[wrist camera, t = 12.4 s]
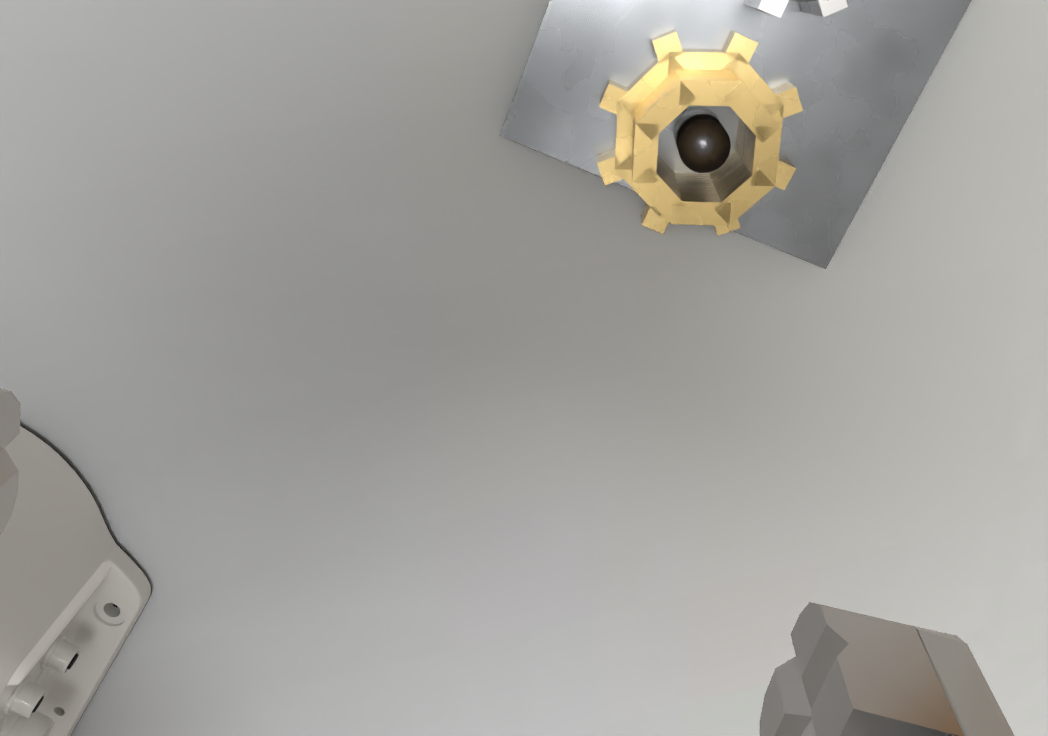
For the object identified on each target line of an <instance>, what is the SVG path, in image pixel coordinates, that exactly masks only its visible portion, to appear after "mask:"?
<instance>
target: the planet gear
mask: <svg viewBox="0 0 1048 736" xmlns="http://www.w3.org/2000/svg"><path fill="white" fill-rule="evenodd" d="M651 40H652V43H653V46H654V49H655V52H656V55H657V59H656V60H655V61H654V62H653V63H652V64H651V65H650V66H649V67H648V68H647V69H645V70H644V71H643V72H642V73H641V74H640V75H639V76H638V77H637V78H636V79H635V80H634V81H633V82H632V83H631V84H630V85H629V86H628V87H626V86H624V85H622V84H620V83H617V82H615V81H613V80H611V79H609V81H608V84H607V86H606V88H605V90H604V93H603V95H602V97H601V99H600V102H599V107H601V108H603V109H605V110H607V111H609V112H612V113H614V114H616V115H617V125H616V148H615V150H612V151H610V152H607V153H604V154H602V155H599V156H598V157H597V165H598V168H599V171H600V174H601V176H602V179H603V182H604V184H605V185H608V184H611V183H613V182H616V181H619V180H621V179H624V180H625V181H626V182H627V183H628V184H629V185H630V186H631V187H632V188H633V189H634V190H635V192H636V193H637V194H638V195H639V196H640V197H641V198H642V199H643V200H644V201H645V202H646V203H647V204H646V206H645V208H644V210H643V213H642V215H641V220H642V225H643V226H646V227H648V228H650V229H652V230H655V231H657V232H659V233H662V234H664V232H665V230H666V228H667V225H668V223H669V222H670V224H686V225H714V227H715V229H716V232H717V235H718V236H719V235H722V234H725V233H727V232H730V231H733V230H736V229H739V228H741V227H740V224H739V221H738V218H739V217H740V216H741V215H742V214H743V213H745V212H746V211H747V210H748V209H749V208H750V207H752V206H753V205H754V204H755V203H756V202H757V201H759V200H760V199H761V198H762V197H763V196H764V195H766V194H767V193H768V192H769V191H770V190H771V189H773V188H774V187H775V186H776V187H778V188H780V189H782V190H785V188H786V186H787V185H788V183H789V181H790V179H791V177H792V175H793V174H794V172H795V170H796V167H795V166H794V165H793V164H792V163H791V162H790V161H789V160H787V159H785V158H782V157H780V156H779V150H780V140H781V131H782V122H783V118H785V117H788V116H791V115H793V114H796V113H799V112H801V111H803V109H802V106H801V102H800V99H799V96H798V92H797V89H796V87H795V86H794V85H793V84H791V83H790V82H788V83H786V84H783V85H781V86H778V87H775V88H773V89H770V87H769V86H768V85H767V84H766V83H765V82H764V81H763V79H762V78H761V77H760V76H759V75H758V74H757V72H756V71H755V70H754V69H753V68H752V67H751V65H750V64H749V61H750V59H751V57H752V55H753V53H754V51H755V49H756V47H757V45H758V43H757V42H756V41H754V40H752V39H750V38H748V37H745V36H743V35H741V34H739V33H737V32H735V31H732V30H731V31H730V33H729V35H728V37H727V39H726V41H725V43H724V45H723V48H722V49H682V48H681V45H680V42H679V38H678V35H677V32H676V31H675V30H674V29H673V30H671V31H668V32H666V33H663V34H661V35H658V36H656V37H654V38H651ZM689 105H692V106H730V107H731V108H732V109H733V110H734V111H735V113H736V114H737V115H738V116H739V119H738V129H737V140H736V150H735V151H734V152H732V153H731V154H730V155H729V156H728V158H727V160H726V161H725V163H724V164H723V165H722V166H721V167H719V168H718V169H716V170H714V171H712V172H710V173H675V172H674V171H673V170H672V169H671V168H670V167H669V166H668V165H667V164H666V163H665V161H664V160H663V159H662V158H661V157H660V156H659V155H658V138H659V133H660V132H661V131H662V130H663V129H664V128H665V127H667V126H668V125H669V124H670V123H671V122H672V121H673V120H674V119H675V118H676V117H677V116H678V115H679V114H681V113H682V112H683V111H684V110H685V109H686V108H687V107H688V106H689Z"/></svg>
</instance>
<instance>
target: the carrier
mask: <svg viewBox="0 0 1048 736" xmlns="http://www.w3.org/2000/svg"><path fill="white" fill-rule="evenodd" d="M970 2H971V0H550V2H549V4H548V7H547V10H546V12H545V15H544V18H543V20H542V23H541V26H540V29H539V31H538V34H537V37H536V39H535V42H534V45H533V47H532V50H531V53H530V55H529V58H528V61H527V64H526V66H525V69H524V72H523V74H522V77H521V80H520V82H519V85H518V88H517V90H516V93H515V96H514V98H513V101H512V104H511V107H510V109H509V112H508V115H507V117H506V120H505V123H504V125H503V128H502V131H501V133H500V136H502V137H505V138H507V139H510V140H512V141H515V142H517V143H519V144H522V145H524V146H527V147H529V148H532V149H534V150H536V151H539V152H541V153H544V154H546V155H549V156H551V157H554V158H556V159H558V160H561V161H563V162H566V163H568V164H571V165H573V166H576V167H578V168H580V169H583V170H585V171H588V172H590V173H593V174H595V175H598V176H600V177H602V176H601V174H600V171H599V168H598V165H597V157H598V156H599V155H602V154H604V153H607V152H610V151H612V150H615V148H616V125H617V115H616V114H614V113H612V112H609V111H607V110H605V109H603V108H601V107H599V102H600V99H601V97H602V95H603V93H604V90H605V88H606V86H607V84H608V81H609V79H611V80H613V81H615V82H617V83H620V84H622V85H624V86H626V87H628V86H629V85H630V84H631V83H632V82H633V81H634V80H635V79H636V78H637V77H638V76H639V75H640V74H641V73H642V72H643V71H644V70H645V69H647V68H648V67H649V66H650V65H651V64H652V63H653V62H654V61H655V60H656V59H657V55H656V52H655V49H654V46H653V43H652V40H651V38H654V37H656V36H658V35H661V34H663V33H666V32H668V31H671V30H673V29H674V30H675V31H676V32H677V35H678V38H679V42H680V45H681V48H682V49H722V48H723V45H724V43H725V41H726V39H727V37H728V35H729V33H730V31H731V30H732V31H735V32H737V33H739V34H741V35H743V36H745V37H748V38H750V39H752V40H754V41H756V42H757V43H758V45H757V47H756V49H755V51H754V53H753V55H752V57H751V59H750V61H749V64H750V65H751V67H752V68H753V69H754V70H755V71H756V72H757V74H758V75H759V76H760V77H761V78H762V79H763V81H764V82H765V83H766V84H767V85H768V86H769V87H770V89H773V88H775V87H778V86H781V85H783V84H786V83H788V82H790V83H791V84H793V85H794V86H795V87H796V89H797V92H798V96H799V99H800V102H801V106H802V109H803V111H801V112H799V113H796V114H793V115H791V116H788V117H785V118H783V122H782V131H781V140H780V150H779V156H780V157H782V158H785V159H787V160H789V161H790V162H791V163H792V164H793V165H794V166H795V167H796V170H795V172H794V174H793V175H792V177H791V179H790V181H789V183H788V185H787V186H786V188H785V190H782V189H780V188H778V187H776V186H775V187H774V188H773V189H771V190H770V191H769V192H768V193H767V194H766V195H764V196H763V197H762V198H761V199H760V200H759V201H757V202H756V203H755V204H754V205H753V206H752V207H750V208H749V209H748V210H747V211H746V212H745V213H743V214H742V215H741V216H740V217H739V218H738V221H739V224H740V227H741V228H739V229H736V230H733V231H734V232H737V233H739V234H742V235H744V236H747V237H749V238H752V239H754V240H756V241H759V242H761V243H764V244H766V245H769V246H771V247H774V248H776V249H778V250H781V251H783V252H786V253H788V254H791V255H793V256H796V257H798V258H800V259H803V260H805V261H808V262H810V263H813V264H815V265H817V266H820V267H822V268H825V269H826V267H827V266H828V264H829V262H830V260H831V258H832V256H833V255H834V253H835V251H836V249H837V247H838V245H839V243H840V242H841V240H842V238H843V236H844V234H845V232H846V231H847V229H848V227H849V225H850V223H851V221H852V220H853V218H854V216H855V214H856V212H857V210H858V208H859V207H860V205H861V203H862V201H863V199H864V197H865V196H866V194H867V192H868V190H869V188H870V186H871V184H872V183H873V181H874V179H875V177H876V175H877V173H878V172H879V170H880V168H881V166H882V164H883V162H884V161H885V159H886V157H887V155H888V153H889V151H890V149H891V148H892V146H893V144H894V142H895V140H896V138H897V137H898V135H899V133H900V131H901V129H902V127H903V125H904V124H905V122H906V120H907V118H908V116H909V114H910V113H911V111H912V109H913V107H914V105H915V103H916V102H917V100H918V98H919V96H920V94H921V92H922V90H923V89H924V87H925V85H926V83H927V81H928V79H929V78H930V76H931V74H932V72H933V70H934V68H935V66H936V65H937V63H938V61H939V59H940V57H941V55H942V54H943V52H944V50H945V48H946V46H947V44H948V43H949V41H950V39H951V37H952V35H953V33H954V31H955V30H956V28H957V26H958V24H959V22H960V20H961V19H962V17H963V15H964V13H965V11H966V9H967V7H968V6H969V4H970ZM738 119H739V116H738V115H737V114H736V113H735V111H734V110H733V109H732V108H731V107H730V106H692V105H689V106H688V107H687V108H686V109H685V110H684V111H683V112H682V113H681V114H679V115H678V116H677V117H676V118H675V119H674V120H673V121H672V122H671V123H670V124H669V125H668V126H667V127H665V128H664V129H663V130H662V131H661V132H660V133H659V138H658V155H659V156H660V157H661V158H662V159H663V160H664V161H665V163H666V164H667V165H668V166H669V167H670V168H671V169H672V170H673V171H674V172H675V173H710V172H712V171H714V170H716V169H718V168H719V167H721V166H722V165H723V164H724V163H725V161H726V160H727V158H728V156H729V155H730V154H731V153H732V152H734V151H735V150H736V140H737V129H738ZM615 183H617V184H620V185H622V186H624V187H627V188H629V189H632V190H634V189H633V188H632V187H631V186H630V185H629V184H628V183H627V182H626V181H625V180H624V179H621V180H619V181H616V182H615ZM634 191H635V190H634Z"/></svg>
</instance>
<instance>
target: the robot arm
mask: <svg viewBox="0 0 1048 736" xmlns="http://www.w3.org/2000/svg"><path fill="white" fill-rule="evenodd" d="M150 594H151V587H150V583H149V581H148V579H147V578H146V576H145V575H144V573H143V572H142V571H141V570H140V568H139V567H138V566H137V565H136V564H135V563H134V562H133V561H132V560H131V559H130V558H129V556H128V555H127V554H126V553H125V552H124V551H123V550H122V549H121V548H120V547H119V546H118V545H117V544H116V543H115V541H114V540H113V538H112V536H111V534H110V533H109V531H108V529H107V526H106V524H105V522H104V519H103V517H102V515H101V513H100V510H99V508H98V506H97V504H96V502H95V500H94V498H93V497H92V495H91V493H90V492H89V490H88V489H87V487H86V486H85V484H84V483H83V481H82V480H81V479H80V477H79V476H78V475H77V474H76V472H75V471H74V470H73V469H72V468H71V467H70V466H69V464H68V463H67V462H66V461H65V460H64V459H63V458H62V457H61V456H60V455H59V454H58V453H56V452H55V451H54V450H53V449H52V448H51V447H50V446H48V445H47V444H46V443H45V442H43V441H42V440H41V439H39V438H38V437H36V436H35V435H34V434H32V433H31V432H29V431H27V430H26V429H24V428H23V427H21V426H20V403H19V401H18V400H17V399H16V397H15V396H14V395H13V393H12V392H11V391H8V390H4V389H1V388H0V736H70V735H71V733H72V732H73V730H74V728H75V726H76V725H77V723H78V721H79V719H80V718H81V716H82V714H83V712H84V711H85V709H86V707H87V706H88V704H89V702H90V700H91V699H92V697H93V695H94V693H95V692H96V690H97V688H98V686H99V685H100V683H101V681H102V679H103V678H104V676H105V674H106V673H107V671H108V669H109V667H110V666H111V664H112V662H113V660H114V659H115V657H116V655H117V653H118V652H119V650H120V648H121V647H122V645H123V643H124V641H125V640H126V638H127V636H128V634H129V633H130V631H131V629H132V627H133V626H134V624H135V622H136V621H137V619H138V617H139V615H140V614H141V612H142V610H143V608H144V607H145V605H146V603H147V601H148V600H149V597H150ZM112 603H113V604H115V605H117V606H118V607H119V608H117V607H115V606H113V605H112ZM791 637H792V641H793V645H794V650H795V654H796V657H794V658H792V659H791V660H789V661H787V662H786V663H784V664H782V665H781V666H779V667H777V668H775V671H774V673H773V676H772V678H771V681H770V683H769V686H768V688H767V691H766V693H765V697H764V702H763V707H762V712H761V718H760V736H1014V734H1013V732H1012V730H1011V728H1010V726H1009V724H1008V722H1007V720H1006V718H1005V717H1004V715H1003V713H1002V711H1001V709H1000V707H999V705H998V703H997V701H996V699H995V697H994V695H993V693H992V691H991V689H990V688H989V686H988V684H987V682H986V680H985V678H984V676H983V674H982V672H981V670H980V668H979V666H978V664H977V662H976V660H975V659H974V657H973V655H972V653H971V651H970V649H969V647H968V645H967V644H966V643H965V642H964V641H963V640H961V639H960V638H959V637H957V636H956V635H951V634H947V633H942V632H938V631H933V630H929V629H924V628H919V627H915V626H910V625H905V624H901V623H897V622H892V621H888V620H884V619H880V618H875V617H871V616H867V615H863V614H858V613H854V612H850V611H846V610H841V609H837V608H833V607H829V606H824V605H820V604H815V603H811V602H809V604H808V605H807V606H806V607H805V608H804V610H803V611H802V612H801V613H800V615H799V617H798V619H797V622H796V624H795V626H794V628H793V630H792V632H791Z"/></svg>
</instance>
